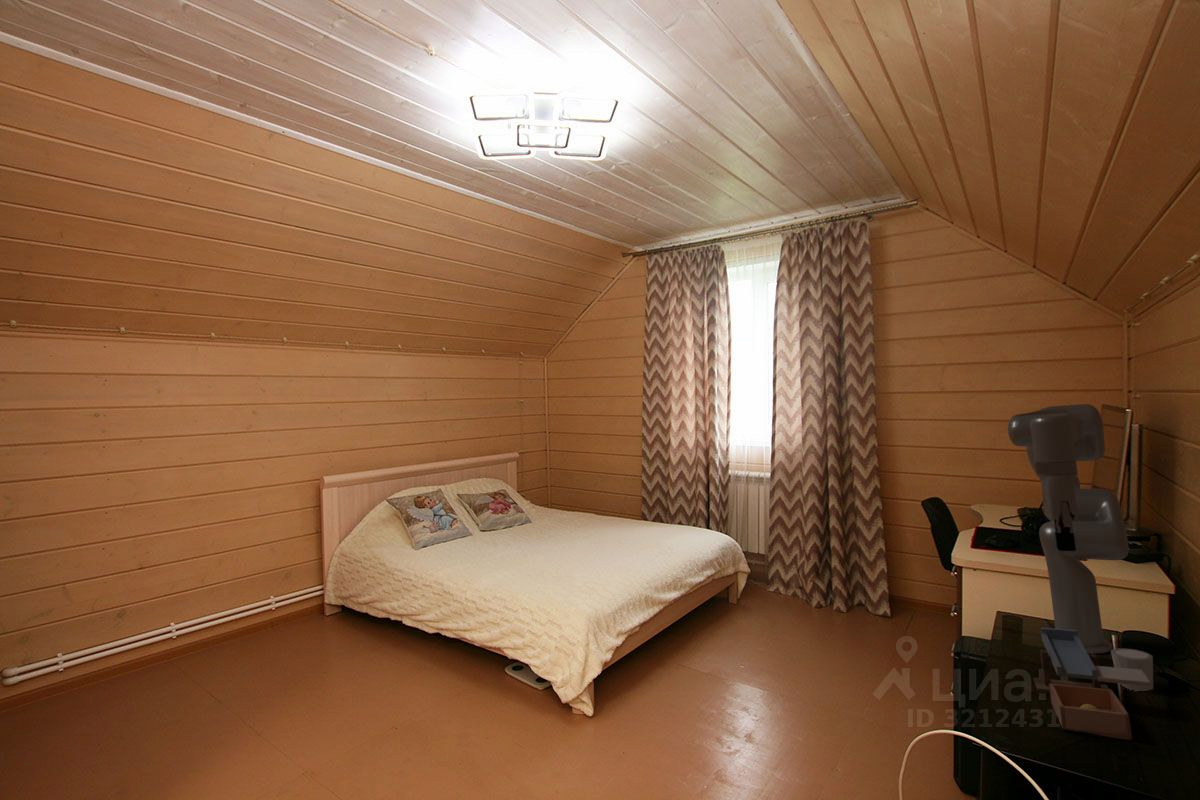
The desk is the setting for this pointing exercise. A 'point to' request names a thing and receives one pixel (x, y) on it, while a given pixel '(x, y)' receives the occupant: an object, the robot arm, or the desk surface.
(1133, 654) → the light grey cylinder
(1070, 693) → the pink open box
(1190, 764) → the desk surface
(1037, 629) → the desk surface
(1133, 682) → the grey piece
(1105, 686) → the stand
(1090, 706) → the ball
